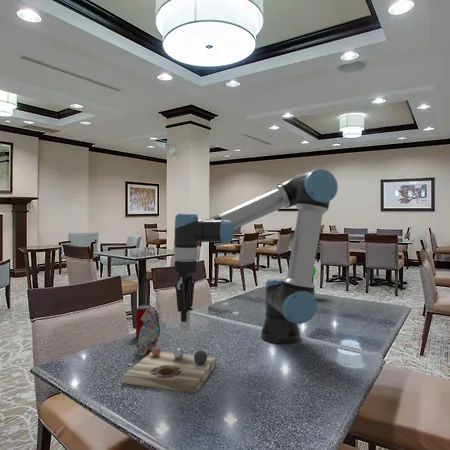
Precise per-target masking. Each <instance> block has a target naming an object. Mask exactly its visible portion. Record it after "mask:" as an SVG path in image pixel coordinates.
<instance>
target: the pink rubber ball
mask: <svg viewBox="0 0 450 450" xmlns="http://www.w3.org/2000/svg"><path fill="white" fill-rule="evenodd" d="M161 351H162V349H161V347H160V346H158V345H156V346H155V347H154V348H153V349H152V354H153V355H154V356H158V355H160V353H161Z"/></svg>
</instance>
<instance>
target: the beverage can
mask: <svg viewBox="0 0 450 450" xmlns="http://www.w3.org/2000/svg"><path fill="white" fill-rule="evenodd" d="M152 307H153V306H152V305H149V304H141V305H138V306H137V309H136V310H135V336H136V337H137V338H139V334H140V330H141V327H142V325H143V324H144V322H143V320H141V317H142V316H143V314H144V312H145V311H146V310H149V309H150V308H152Z"/></svg>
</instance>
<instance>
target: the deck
mask: <svg viewBox="0 0 450 450" xmlns="http://www.w3.org/2000/svg"><path fill="white" fill-rule="evenodd" d="M173 353H174V351H173V352H172V351H171V352H170V351H162V350H161V353H160V355H158V356H154V355H153V354H152V352H149V353H148V354H146V355H145V356H144V357H143V358H142V359H141V360H139V361H138V362H137V363H136V364H135V365H133V366H132V367H131V368H130V369H128V370H127V371H126V372H124V373H123V375H122V377H123V380H122V381H123V383H122V384H128V385H134V386H143V387H148V388H149V387H150V388H157V389H164V390H172V391H178V392H185V391H186V392H185V393H193V392H195V393H194V394H197V392H198V391H199V389H200V388H201V386H203V384H204V383H205V382H206V379H207V378H208V377H209V376H210V374H211V372H212V371H213V370H214V368H215V367H216V366H217V357H216V356H211V355H210V356H208V355H207V361H206V362H205V363H204V364H202V365H199V364H197V363H196V362H195V360H194V355H195V354H190V353H184V356H183V358H181V359H176V358H175V357H174V355H173ZM197 390H198V391H197Z"/></svg>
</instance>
